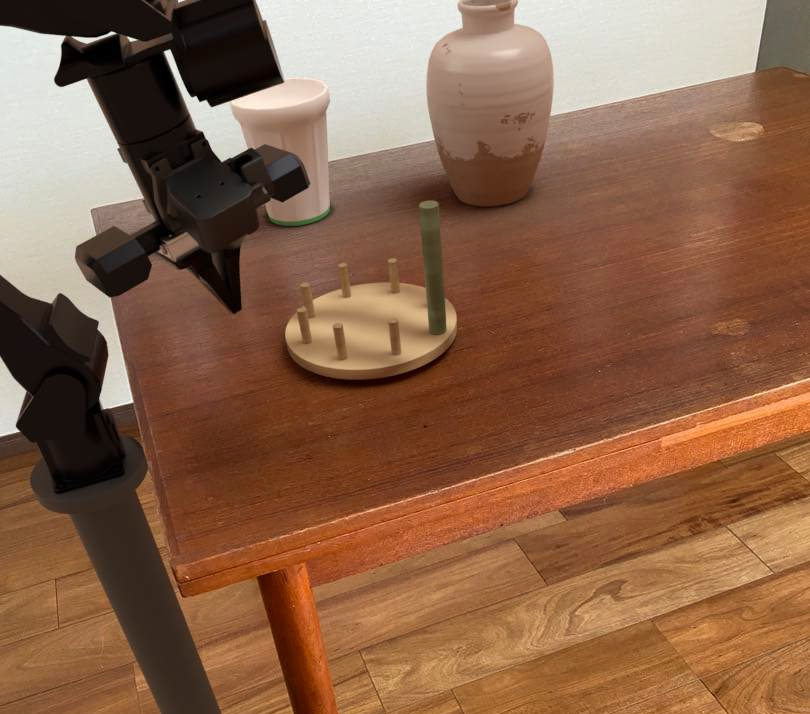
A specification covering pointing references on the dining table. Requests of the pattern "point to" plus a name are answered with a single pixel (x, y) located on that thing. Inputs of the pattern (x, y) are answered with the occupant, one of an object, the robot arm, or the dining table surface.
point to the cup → (292, 141)
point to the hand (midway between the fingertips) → (235, 311)
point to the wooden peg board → (377, 319)
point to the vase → (490, 103)
